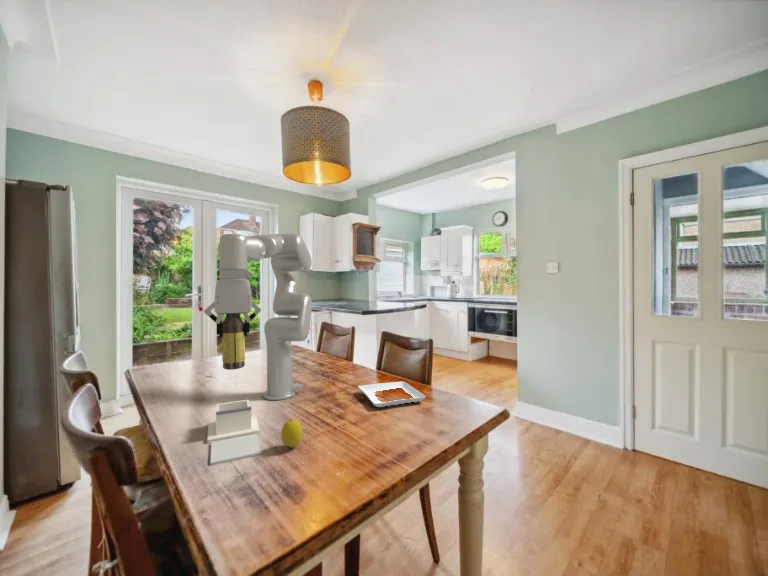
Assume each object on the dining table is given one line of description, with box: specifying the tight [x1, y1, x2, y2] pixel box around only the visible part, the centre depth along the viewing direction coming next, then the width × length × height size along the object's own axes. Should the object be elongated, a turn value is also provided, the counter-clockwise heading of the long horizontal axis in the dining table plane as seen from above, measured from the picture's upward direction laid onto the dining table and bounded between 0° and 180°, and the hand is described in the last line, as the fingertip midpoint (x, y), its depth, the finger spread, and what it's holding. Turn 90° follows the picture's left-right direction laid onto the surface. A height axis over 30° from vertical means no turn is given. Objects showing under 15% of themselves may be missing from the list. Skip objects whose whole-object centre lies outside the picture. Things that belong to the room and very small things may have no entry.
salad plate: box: [357, 381, 426, 408], centre depth 131 cm, size 21×21×3 cm
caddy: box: [206, 399, 261, 444], centre depth 103 cm, size 14×14×8 cm
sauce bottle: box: [221, 313, 246, 371], centre depth 99 cm, size 6×6×20 cm
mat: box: [209, 434, 262, 466], centre depth 91 cm, size 12×12×1 cm
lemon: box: [281, 418, 303, 449], centre depth 91 cm, size 6×6×8 cm
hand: (233, 335), depth 99 cm, fingers closed on sauce bottle, 6 cm apart
